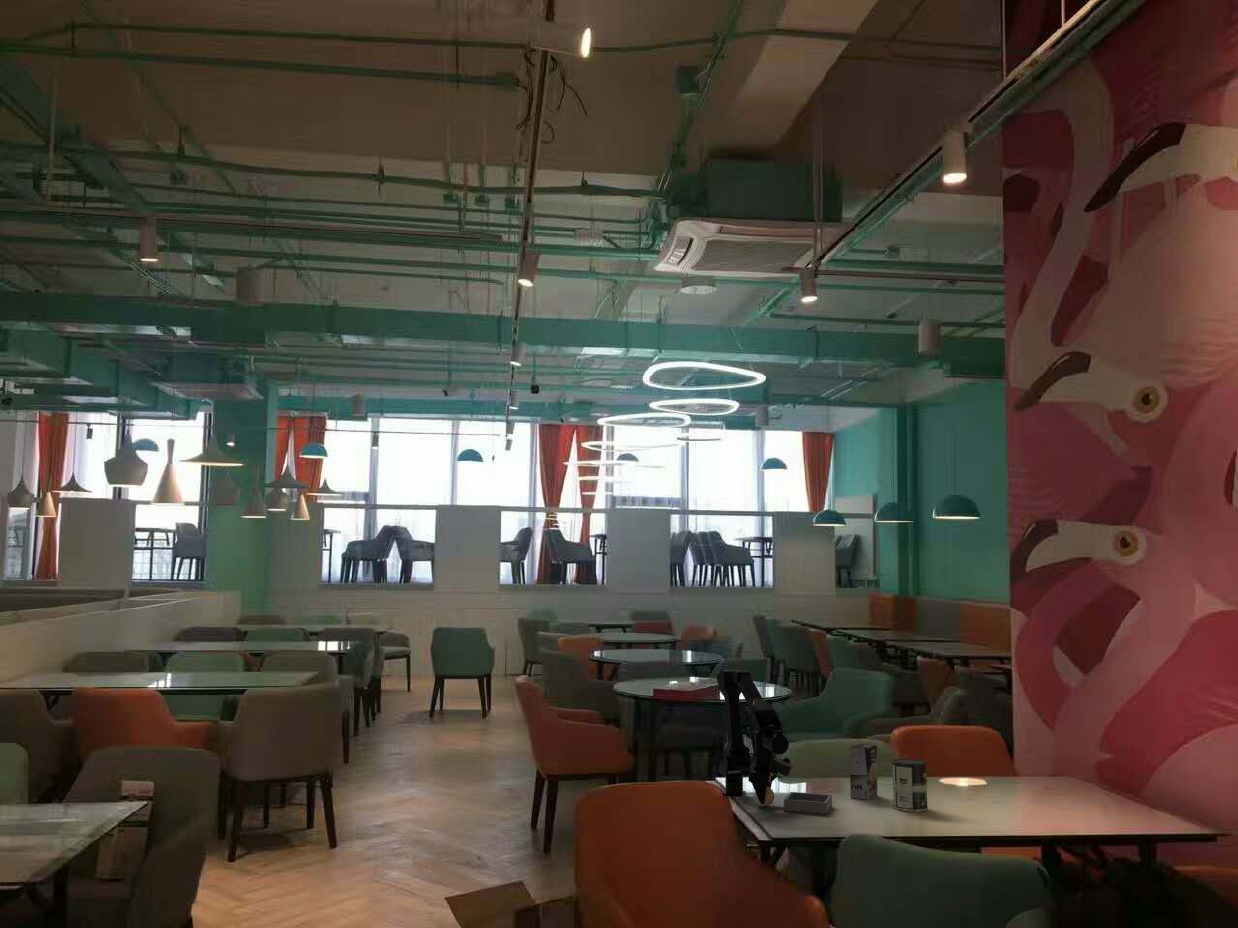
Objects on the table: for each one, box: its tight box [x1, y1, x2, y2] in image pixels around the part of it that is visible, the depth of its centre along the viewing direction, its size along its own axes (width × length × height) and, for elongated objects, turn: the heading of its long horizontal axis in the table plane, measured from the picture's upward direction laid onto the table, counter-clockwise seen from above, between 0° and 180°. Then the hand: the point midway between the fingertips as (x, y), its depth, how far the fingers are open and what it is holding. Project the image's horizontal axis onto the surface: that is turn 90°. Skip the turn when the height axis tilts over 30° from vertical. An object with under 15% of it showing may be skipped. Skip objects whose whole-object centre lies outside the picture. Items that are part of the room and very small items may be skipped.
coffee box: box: [849, 743, 878, 800], centre depth 326 cm, size 9×6×16 cm
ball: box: [754, 786, 775, 807], centre depth 308 cm, size 6×6×6 cm
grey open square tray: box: [783, 791, 833, 816], centre depth 305 cm, size 13×13×4 cm
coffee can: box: [891, 758, 928, 813], centre depth 309 cm, size 10×10×14 cm
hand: (764, 801), depth 308 cm, fingers closed on ball, 6 cm apart
